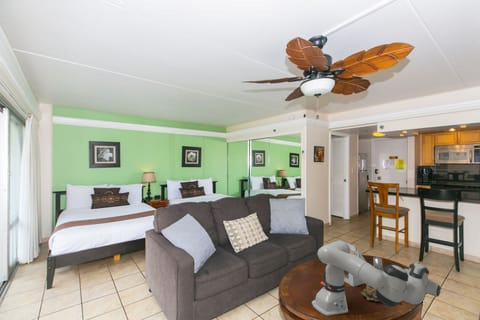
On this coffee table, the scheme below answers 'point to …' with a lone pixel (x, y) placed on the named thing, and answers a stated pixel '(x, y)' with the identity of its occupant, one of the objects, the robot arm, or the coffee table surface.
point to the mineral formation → (370, 293)
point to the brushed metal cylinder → (377, 263)
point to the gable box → (349, 277)
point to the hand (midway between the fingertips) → (391, 270)
